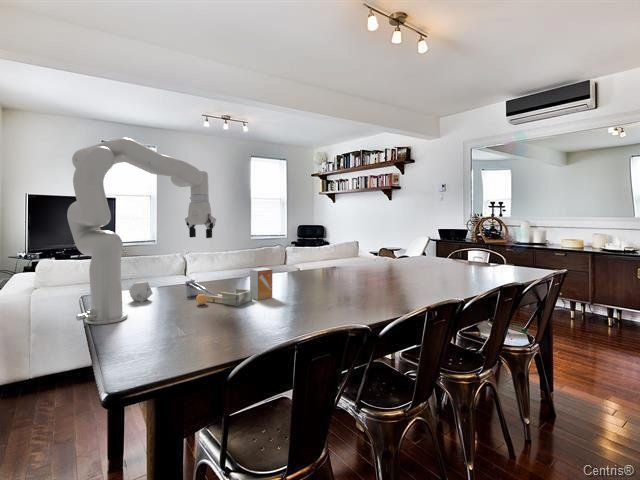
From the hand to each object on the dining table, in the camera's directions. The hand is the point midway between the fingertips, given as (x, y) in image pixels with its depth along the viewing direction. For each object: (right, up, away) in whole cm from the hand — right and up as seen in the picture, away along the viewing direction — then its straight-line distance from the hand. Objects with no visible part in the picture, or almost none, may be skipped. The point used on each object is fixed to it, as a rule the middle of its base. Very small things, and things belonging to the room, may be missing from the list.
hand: (200, 237), depth 160 cm
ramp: (+1, -27, +1) cm, 27 cm away
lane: (+14, -27, -6) cm, 31 cm away
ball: (+4, -26, -12) cm, 29 cm away
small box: (+27, -27, 0) cm, 38 cm away
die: (-24, -28, -6) cm, 37 cm away
